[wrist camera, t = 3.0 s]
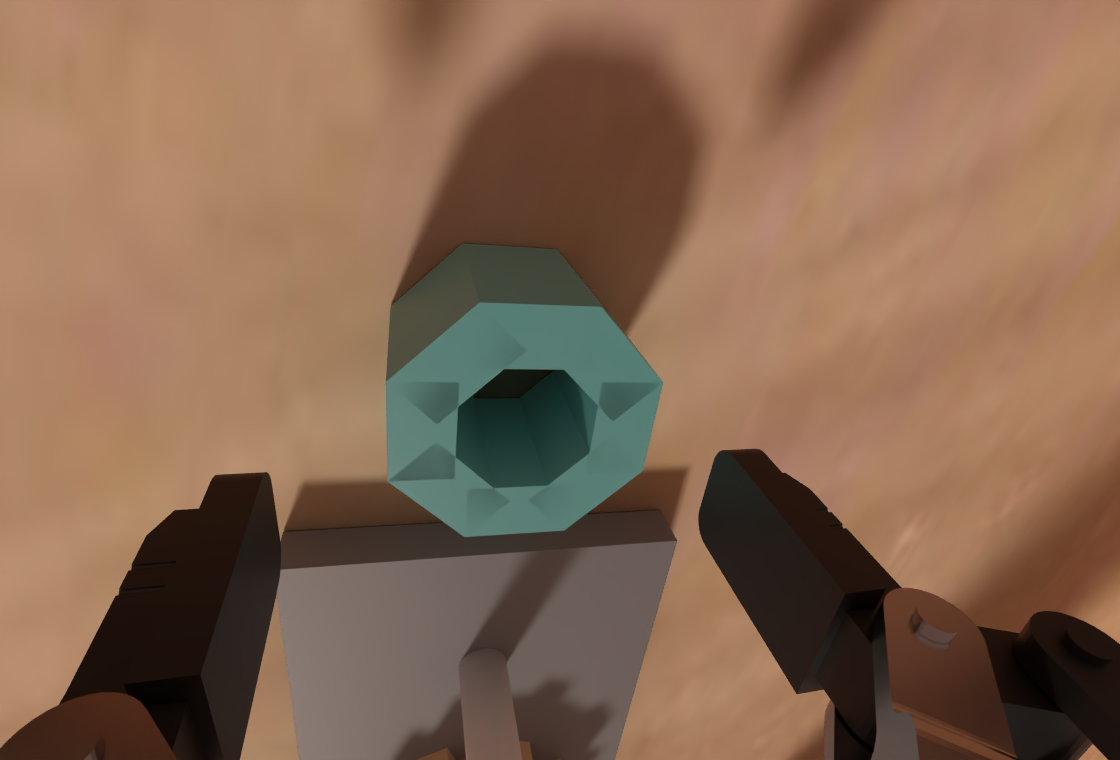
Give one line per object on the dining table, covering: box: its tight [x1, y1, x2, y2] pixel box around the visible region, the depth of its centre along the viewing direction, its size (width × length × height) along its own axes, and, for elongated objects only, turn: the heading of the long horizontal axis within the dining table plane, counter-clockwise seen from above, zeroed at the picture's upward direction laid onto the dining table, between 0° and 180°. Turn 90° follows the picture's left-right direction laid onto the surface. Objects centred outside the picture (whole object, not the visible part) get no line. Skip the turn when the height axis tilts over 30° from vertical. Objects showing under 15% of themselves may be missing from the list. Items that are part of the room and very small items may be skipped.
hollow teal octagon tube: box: [386, 243, 663, 537], centre depth 14 cm, size 6×6×4 cm
